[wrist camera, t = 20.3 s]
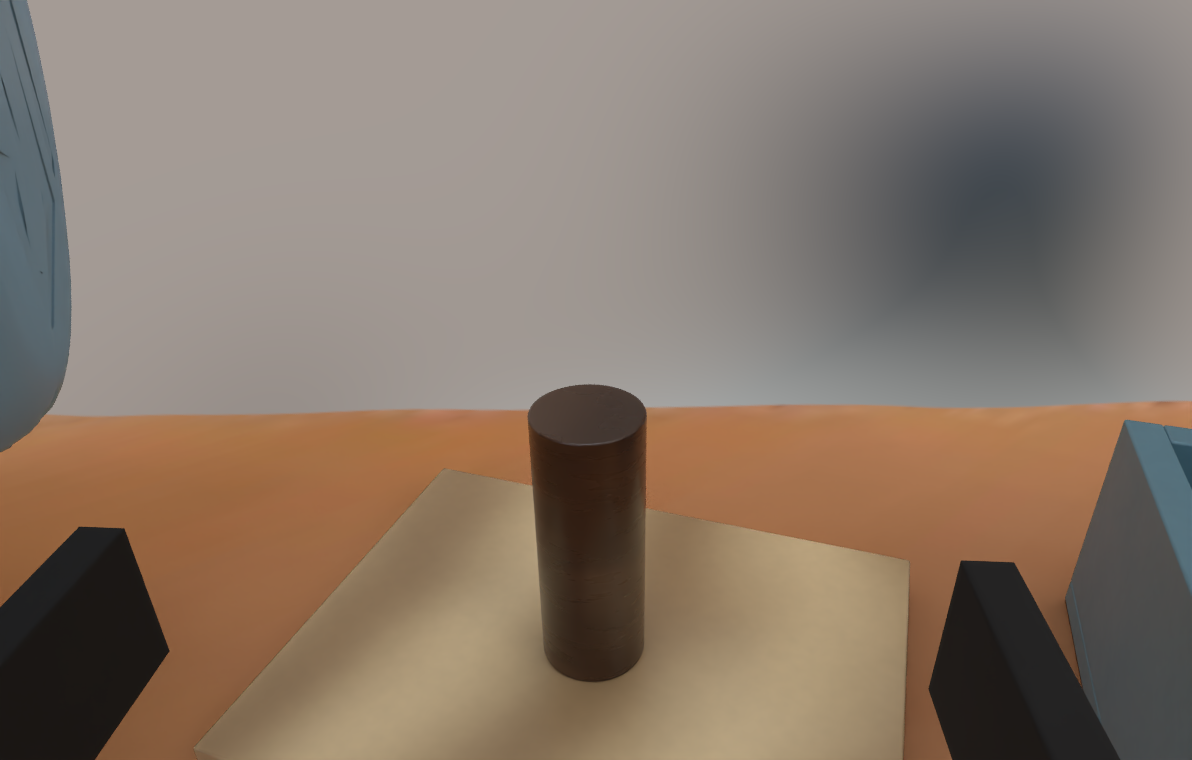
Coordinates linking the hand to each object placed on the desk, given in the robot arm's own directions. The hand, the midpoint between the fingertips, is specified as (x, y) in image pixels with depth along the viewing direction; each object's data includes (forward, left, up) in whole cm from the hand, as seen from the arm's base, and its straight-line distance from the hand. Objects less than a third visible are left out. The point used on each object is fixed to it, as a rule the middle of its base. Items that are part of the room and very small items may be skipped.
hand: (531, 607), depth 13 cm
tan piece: (-3, +7, -10) cm, 13 cm away
